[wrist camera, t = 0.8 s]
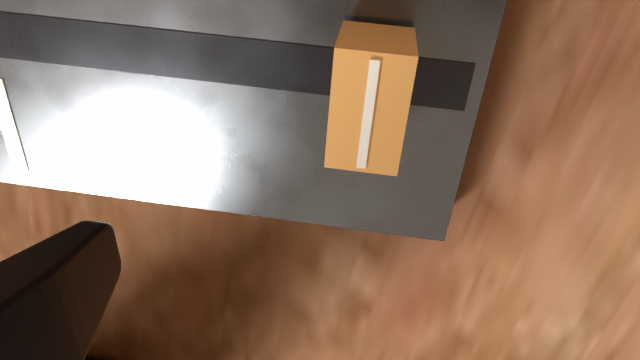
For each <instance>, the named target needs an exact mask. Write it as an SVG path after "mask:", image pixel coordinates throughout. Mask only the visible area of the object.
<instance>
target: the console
mask: <svg viewBox="0 0 640 360" xmlns="http://www.w3.org/2000/svg"><path fill="white" fill-rule="evenodd" d="M506 3H507V0H0V182H5V183H12V184H20V185H27V186H35V187H42V188H50V189H57V190H65V191H72V192H80V193H87V194H95V195H102V196H110V197H117V198H125V199H132V200H140V201H147V202H155V203H162V204H169V205H177V206H184V207H192V208H199V209H207V210H214V211H222V212H229V213H237V214H244V215H252V216H259V217H267V218H274V219H282V220H289V221H297V222H304V223H312V224H319V225H326V226H334V227H341V228H349V229H356V230H364V231H371V232H379V233H386V234H394V235H401V236H409V237H416V238H424V239H431V240H439V241H444V240H445V236H446V232H447V229H448V225H449V221H450V217H451V213H452V209H453V206H454V202H455V198H456V194H457V190H458V186H459V183H460V179H461V175H462V171H463V167H464V163H465V160H466V156H467V152H468V148H469V144H470V140H471V137H472V133H473V129H474V125H475V121H476V117H477V114H478V110H479V106H480V102H481V98H482V94H483V91H484V87H485V83H486V79H487V75H488V72H489V68H490V64H491V60H492V56H493V52H494V49H495V45H496V41H497V37H498V33H499V29H500V26H501V22H502V18H503V14H504V10H505V6H506ZM343 20H345V21H355V22H364V23H374V24H383V25H393V26H402V27H412V28H415V31H416V40H417V48H418V63H417V68H416V74H415V79H414V85H413V90H412V96H411V102H410V107H409V113H408V118H407V124H406V129H405V135H404V141H403V146H402V152H401V157H400V163H399V168H398V174H397V176H389V175H381V174H373V173H365V172H357V171H349V170H341V169H333V168H326V167H324V161H325V149H326V138H327V126H328V114H329V103H330V91H331V80H332V68H333V56H334V47H335V44H336V41H337V38H338V35H339V32H340V29H341V26H342V23H343Z"/></svg>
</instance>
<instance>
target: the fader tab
mask: <svg viewBox="0 0 640 360" xmlns="http://www.w3.org/2000/svg"><path fill="white" fill-rule="evenodd" d="M417 63H418V48H417V40H416V31H415V28H412V27H402V26H393V25H383V24H374V23H364V22H355V21H345V20H343V23H342V26H341V29H340V32H339V35H338V38H337V41H336V44H335V47H334V56H333V68H332V80H331V91H330V103H329V114H328V126H327V138H326V149H325V161H324V167H326V168H333V169H341V170H349V171H357V172H365V173H373V174H381V175H389V176H397V174H398V168H399V163H400V157H401V152H402V146H403V141H404V135H405V129H406V124H407V118H408V113H409V107H410V102H411V96H412V90H413V85H414V79H415V74H416V68H417Z"/></svg>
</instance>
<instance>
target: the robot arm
mask: <svg viewBox="0 0 640 360" xmlns="http://www.w3.org/2000/svg"><path fill="white" fill-rule="evenodd" d="M120 271H121V259H120V255H119V251H118V247H117V242H116V238H115V234H114V230H113V228H112V226H111V225H110V224H108V223H105V222H97V221H82V222H79V223H77V224H75V225H73V226H71V227H69V228H67V229H65V230H63V231H61V232H59V233H57V234H55V235H53V236H51V237H49V238H47V239H45V240H43V241H41V242H39V243H37V244H35V245H33V246H31V247H29V248H27V249H25V250H23V251H21V252H19V253H17V254H15V255H13V256H11V257H9V258H7V259H5V260H3V261H1V262H0V360H90V359H85V357H86V354H87V352H88V350H89V348H90V346H91V343H92V341H93V338H94V336H95V333H96V331H97V329H98V326H99V324H100V321H101V319H102V317H103V314H104V312H105V309H106V307H107V305H108V302H109V300H110V297H111V295H112V293H113V290H114V288H115V285H116V283H117V281H118V278H119V275H120Z"/></svg>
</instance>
